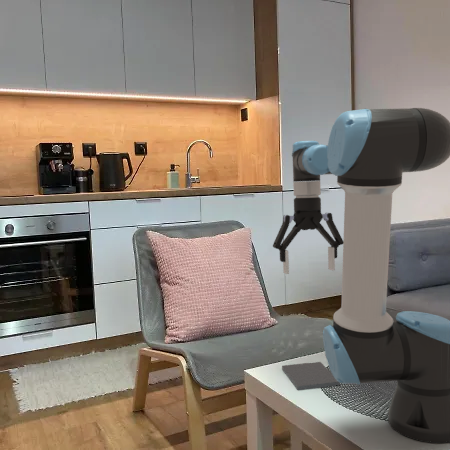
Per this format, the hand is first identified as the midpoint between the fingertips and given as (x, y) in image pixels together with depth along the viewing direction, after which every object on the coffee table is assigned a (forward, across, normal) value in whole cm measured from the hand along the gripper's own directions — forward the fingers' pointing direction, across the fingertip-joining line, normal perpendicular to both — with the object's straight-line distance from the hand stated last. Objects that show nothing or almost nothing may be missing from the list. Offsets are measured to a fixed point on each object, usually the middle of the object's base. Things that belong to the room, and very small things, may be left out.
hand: (309, 271), depth 144 cm
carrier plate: (+26, +5, +13) cm, 29 cm away
